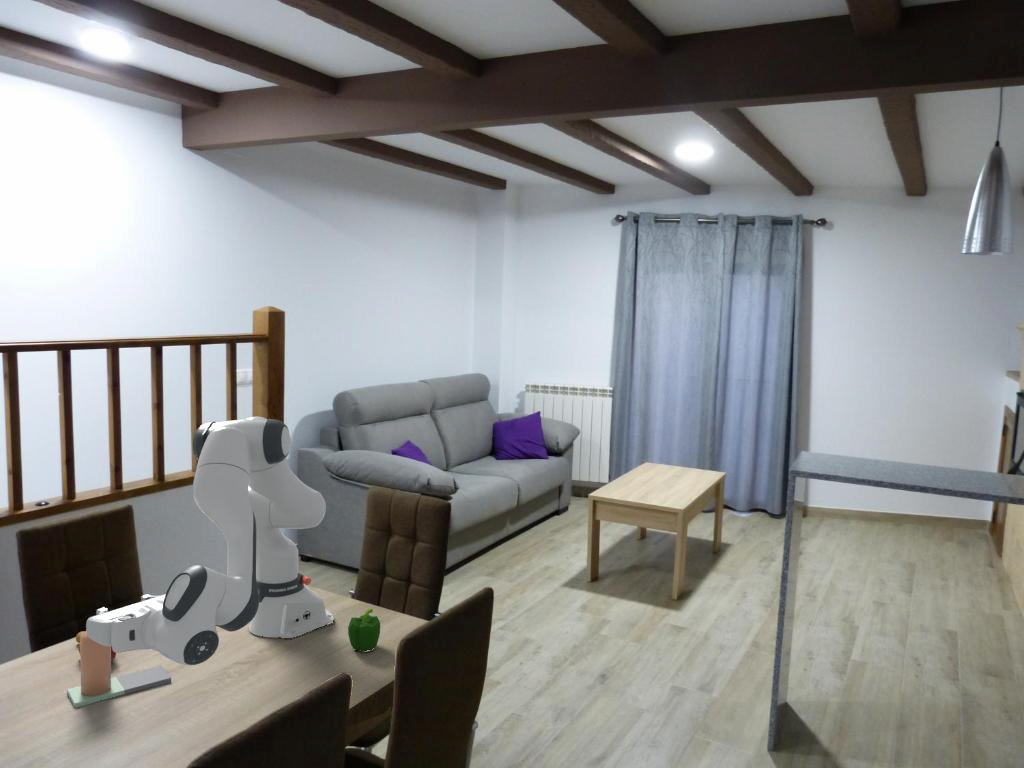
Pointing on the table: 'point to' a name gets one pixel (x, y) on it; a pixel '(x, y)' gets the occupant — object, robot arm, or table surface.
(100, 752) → the table surface
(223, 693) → the table surface
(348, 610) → the table surface
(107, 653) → the bottle
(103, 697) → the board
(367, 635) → the bell pepper
